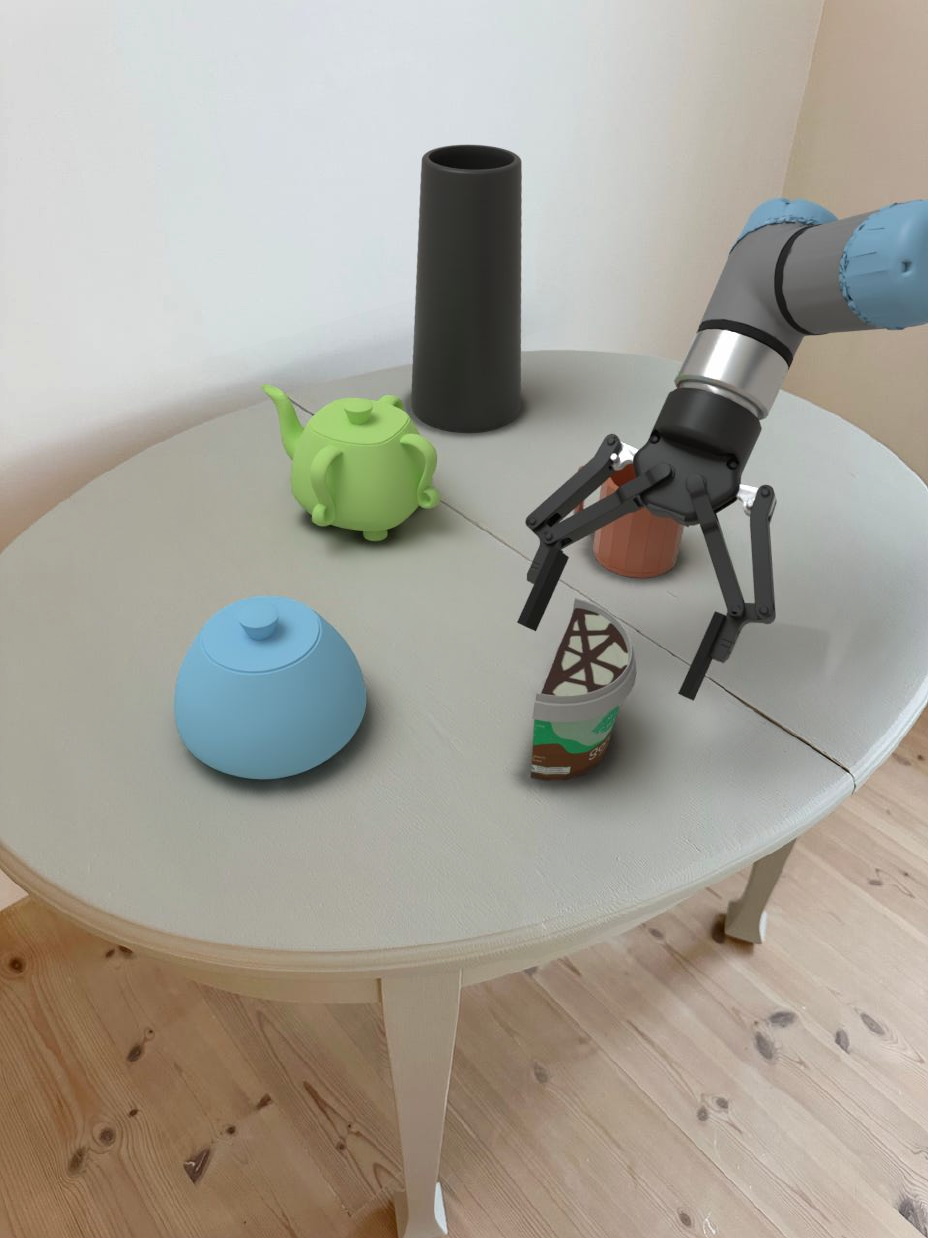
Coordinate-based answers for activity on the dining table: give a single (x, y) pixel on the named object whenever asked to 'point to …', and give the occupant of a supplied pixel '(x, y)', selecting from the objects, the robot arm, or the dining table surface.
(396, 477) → the teapot
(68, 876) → the dining table surface
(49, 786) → the dining table surface
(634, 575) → the mug
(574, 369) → the dining table surface
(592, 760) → the food container
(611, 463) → the robot arm
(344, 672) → the sugar bowl
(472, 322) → the vase
